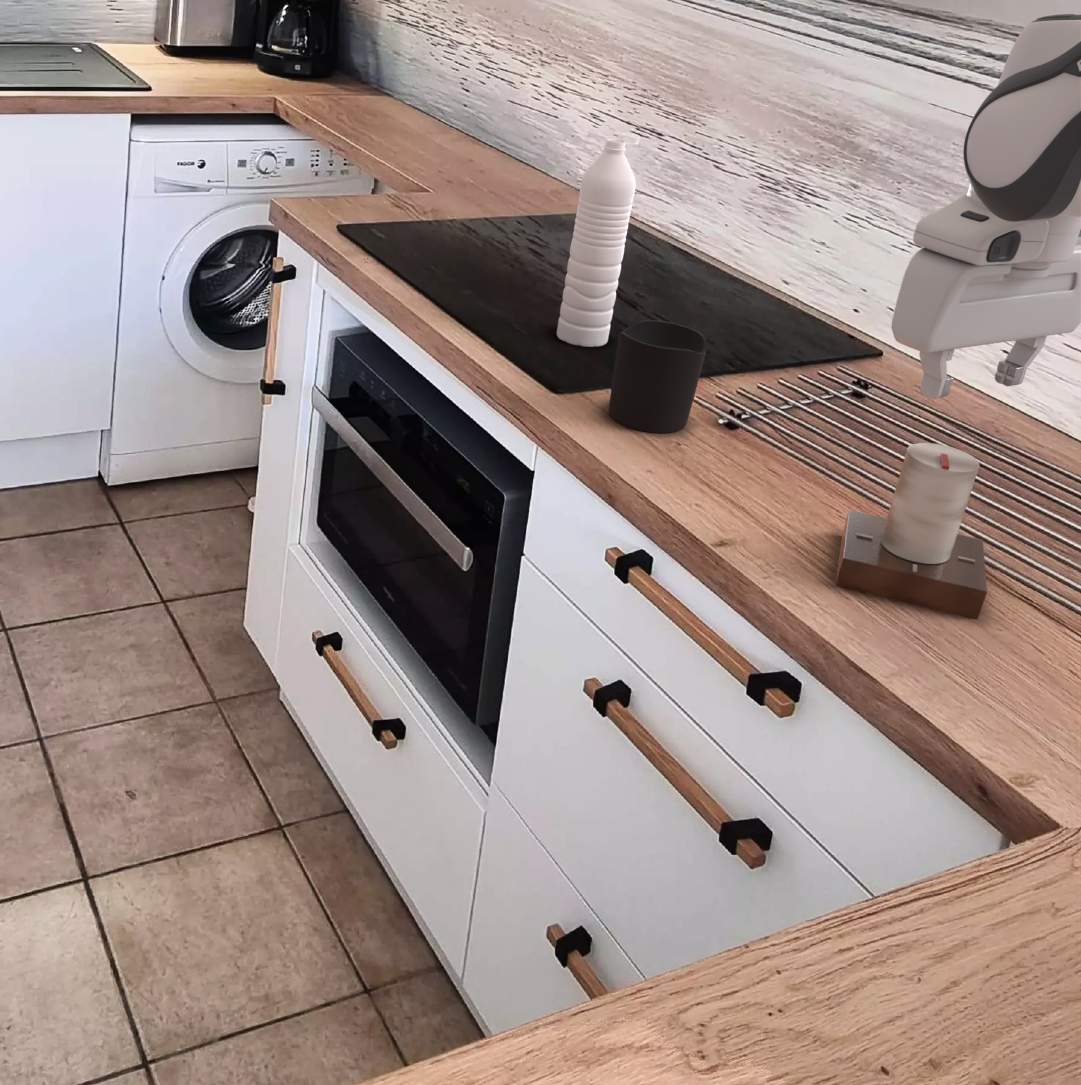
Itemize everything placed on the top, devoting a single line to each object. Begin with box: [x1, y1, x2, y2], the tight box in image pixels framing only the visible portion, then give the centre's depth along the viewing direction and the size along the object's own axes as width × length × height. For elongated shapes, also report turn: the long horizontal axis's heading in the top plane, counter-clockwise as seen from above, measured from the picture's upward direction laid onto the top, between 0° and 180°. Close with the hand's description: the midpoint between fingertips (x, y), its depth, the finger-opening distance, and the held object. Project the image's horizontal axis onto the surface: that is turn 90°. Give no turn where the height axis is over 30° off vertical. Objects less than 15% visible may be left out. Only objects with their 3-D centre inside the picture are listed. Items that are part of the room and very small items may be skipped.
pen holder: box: [608, 319, 708, 434], centre depth 155 cm, size 9×9×10 cm
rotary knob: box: [881, 442, 980, 564], centre depth 125 cm, size 6×6×9 cm
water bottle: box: [556, 132, 641, 348], centre depth 175 cm, size 9×6×25 cm
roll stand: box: [834, 509, 988, 620], centre depth 128 cm, size 12×11×3 cm
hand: (970, 389), depth 119 cm, fingers open, 8 cm apart
